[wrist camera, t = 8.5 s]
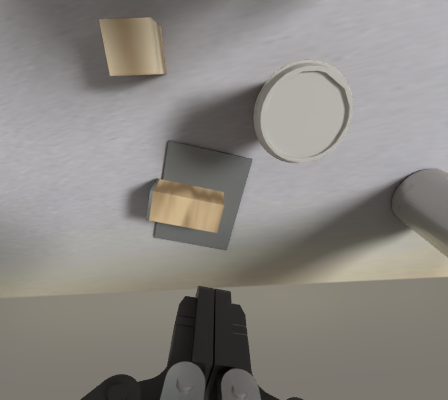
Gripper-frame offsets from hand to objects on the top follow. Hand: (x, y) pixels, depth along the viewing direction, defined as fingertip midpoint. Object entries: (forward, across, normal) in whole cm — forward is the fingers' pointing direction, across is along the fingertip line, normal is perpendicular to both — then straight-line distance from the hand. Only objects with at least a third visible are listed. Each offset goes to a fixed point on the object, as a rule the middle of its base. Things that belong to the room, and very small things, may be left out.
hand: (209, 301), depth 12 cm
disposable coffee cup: (+28, -7, -8) cm, 30 cm away
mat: (+28, 0, +8) cm, 29 cm away
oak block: (+25, +7, +8) cm, 28 cm away
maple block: (+28, +11, -10) cm, 32 cm away
